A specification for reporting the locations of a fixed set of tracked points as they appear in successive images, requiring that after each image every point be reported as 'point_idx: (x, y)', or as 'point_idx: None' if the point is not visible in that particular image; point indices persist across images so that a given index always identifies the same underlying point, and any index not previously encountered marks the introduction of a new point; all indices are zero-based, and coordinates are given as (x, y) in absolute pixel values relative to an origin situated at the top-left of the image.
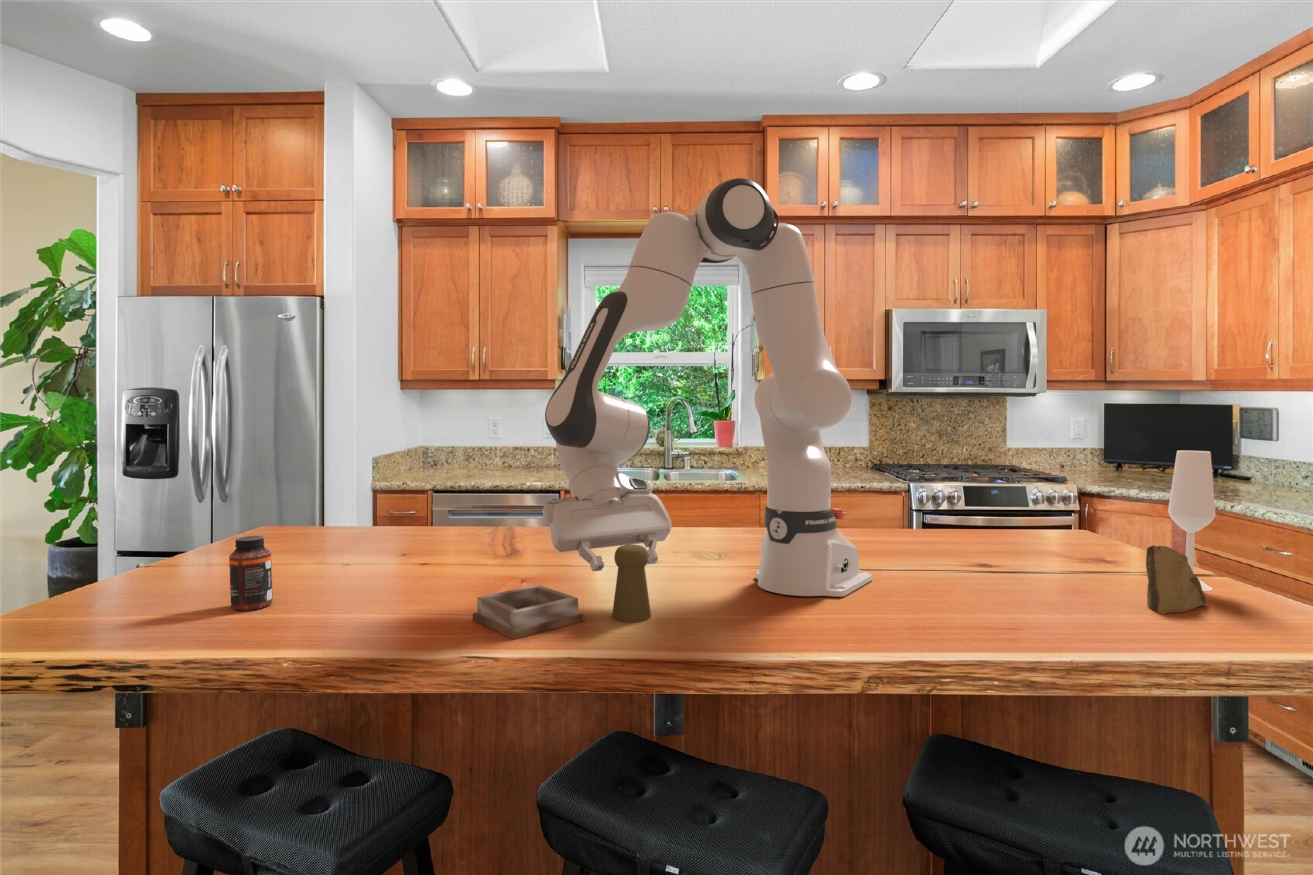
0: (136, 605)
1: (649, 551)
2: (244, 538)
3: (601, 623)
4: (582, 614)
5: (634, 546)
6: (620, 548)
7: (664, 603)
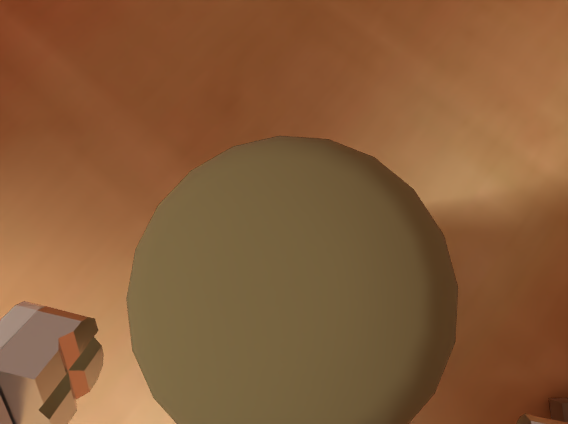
0: None
1: (24, 362)
2: None
3: (491, 314)
4: (564, 408)
5: (275, 229)
6: (417, 316)
7: None
